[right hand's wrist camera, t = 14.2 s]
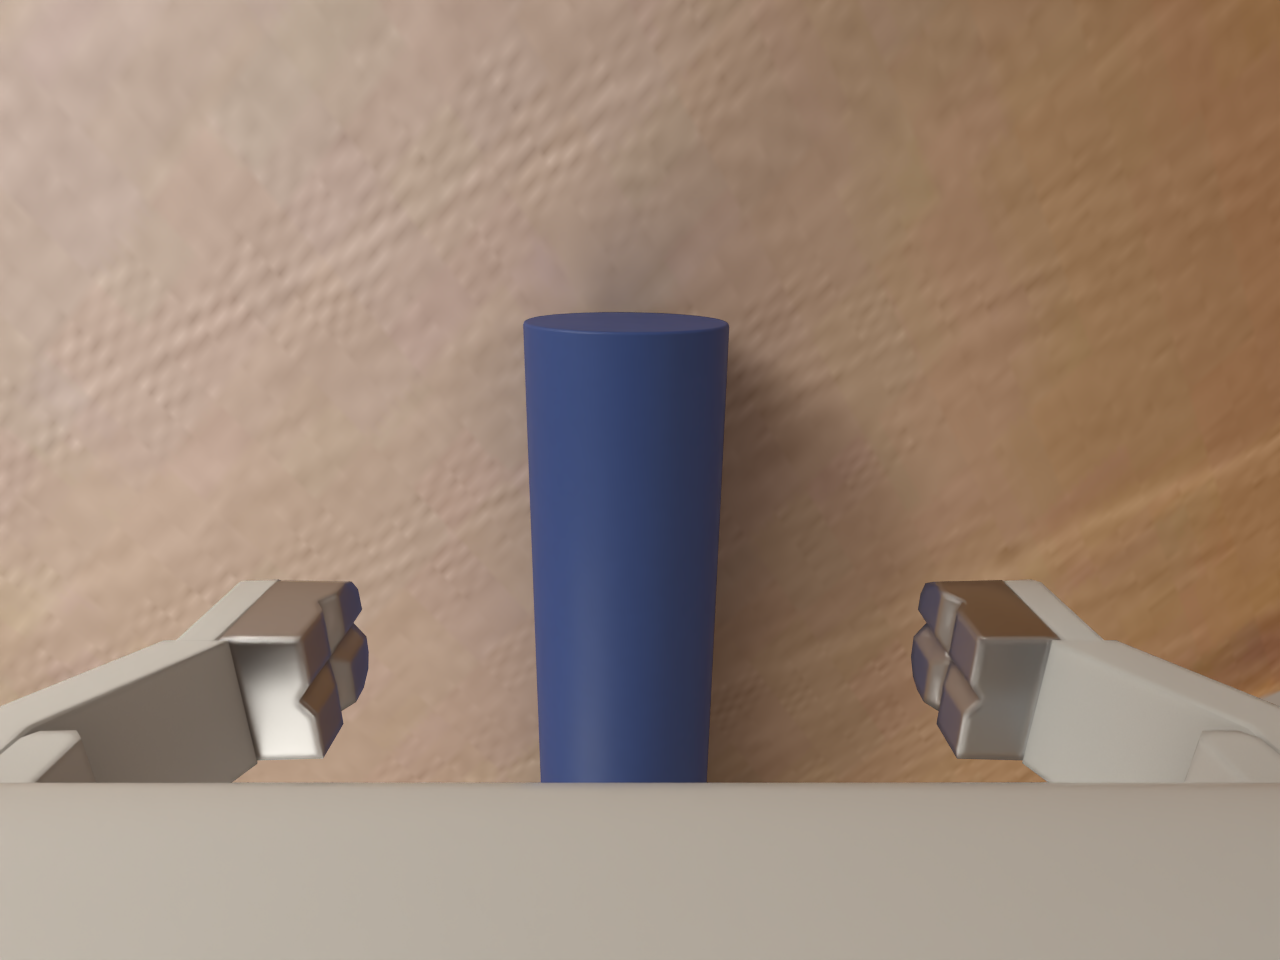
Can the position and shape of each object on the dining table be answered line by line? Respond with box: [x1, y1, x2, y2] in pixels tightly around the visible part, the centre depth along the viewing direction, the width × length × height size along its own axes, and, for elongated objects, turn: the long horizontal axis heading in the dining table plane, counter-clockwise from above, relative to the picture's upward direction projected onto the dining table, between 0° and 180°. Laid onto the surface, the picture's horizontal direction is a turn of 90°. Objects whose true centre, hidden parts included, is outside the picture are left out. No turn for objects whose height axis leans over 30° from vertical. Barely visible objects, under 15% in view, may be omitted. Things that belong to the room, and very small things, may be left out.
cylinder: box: [523, 312, 729, 783], centre depth 25 cm, size 25×6×6 cm, turn 179°
